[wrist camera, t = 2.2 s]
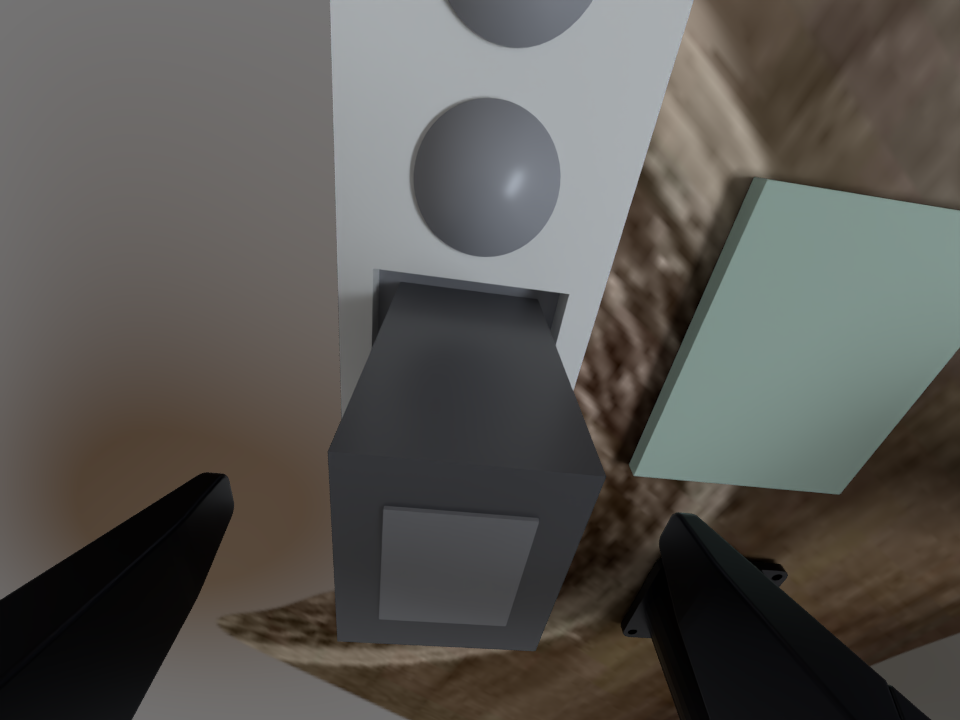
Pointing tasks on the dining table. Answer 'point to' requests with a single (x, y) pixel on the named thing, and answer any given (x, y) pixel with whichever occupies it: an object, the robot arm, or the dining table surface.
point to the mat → (807, 340)
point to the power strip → (490, 151)
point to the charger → (458, 476)
